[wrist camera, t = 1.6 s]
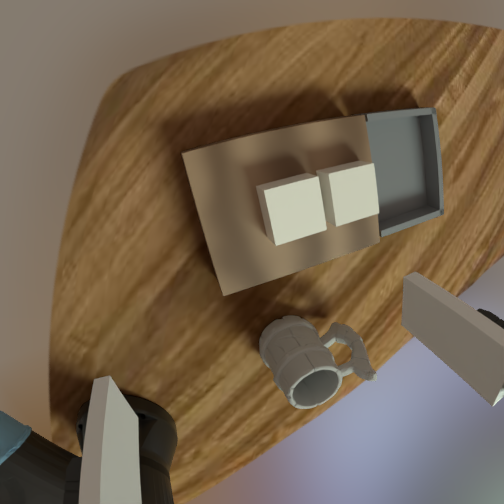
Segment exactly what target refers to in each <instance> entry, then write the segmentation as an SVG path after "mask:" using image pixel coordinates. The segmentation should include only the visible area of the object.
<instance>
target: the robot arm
mask: <svg viewBox="0 0 504 504" xmlns="http://www.w3.org/2000/svg"><path fill="white" fill-rule="evenodd" d="M401 325H402V326H403V327H404V328H406V329H407V330H408V331H409V332H410V333H411V334H413V335H414V336H415V337H416V338H417V339H418V340H419V341H421V342H422V343H423V344H424V345H425V346H426V347H428V348H429V349H430V350H431V351H432V352H433V353H434V354H435V355H437V356H438V357H439V358H440V359H441V360H442V361H443V362H444V363H445V364H447V365H448V366H449V367H450V368H451V369H452V370H453V371H454V372H455V373H457V374H458V375H459V376H460V377H461V378H462V379H463V380H464V381H465V382H466V383H468V384H469V385H470V386H471V387H472V388H473V389H474V390H475V391H476V392H477V393H478V394H480V395H481V396H482V397H483V398H484V399H485V400H486V401H487V402H488V403H489V404H490V405H491V406H494V405H495V404H496V403H497V402H498V401H499V400H500V399H501V398H502V397H503V396H504V321H503V320H502V319H499V318H498V317H497V316H496V315H494V314H493V313H491V312H489V311H486V310H483V309H478V310H475V309H474V308H472V307H471V306H469V305H468V304H466V303H465V302H463V301H462V300H460V299H458V298H457V297H455V296H454V295H452V294H451V293H449V292H448V291H446V290H445V289H443V288H441V287H440V286H438V285H437V284H435V283H434V282H432V281H430V280H429V279H427V278H426V277H424V276H422V275H421V274H419V273H417V272H414V273H411V274H409V275H407V276H405V277H404V282H403V308H402V324H401ZM76 432H77V436H78V440H79V445H80V449H81V452H82V457H78V456H76V455H74V454H72V453H70V452H68V451H67V450H65V449H63V448H61V447H59V446H57V445H56V444H54V443H52V442H50V441H49V440H47V439H45V438H44V437H42V436H40V435H39V434H37V433H35V432H34V431H32V428H31V427H29V426H28V425H23V424H22V423H20V422H18V421H17V420H15V419H14V418H12V417H10V416H9V415H7V414H5V413H4V412H2V411H0V504H174V502H173V496H172V489H171V483H170V475H169V470H170V467H171V463H172V460H173V456H174V453H175V450H176V446H177V430H176V425H175V422H174V420H173V418H172V417H171V416H170V415H169V414H168V413H167V412H166V411H165V410H164V409H162V408H161V407H160V406H158V405H156V404H154V403H152V402H150V401H147V400H145V399H142V398H138V397H134V396H128V395H122V393H121V392H120V390H119V389H118V387H117V386H116V384H115V383H114V381H113V379H112V378H111V376H106V377H101V378H97V379H94V382H93V388H92V393H91V399H90V400H89V401H88V402H86V403H85V404H84V405H83V406H82V407H81V408H80V410H79V413H78V417H77V423H76Z"/></svg>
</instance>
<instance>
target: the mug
mask: <svg viewBox="0 0 504 504" xmlns="http://www.w3.org/2000/svg"><path fill="white" fill-rule="evenodd" d="M282 318H283V319H276V320H275V321H273V322H272V323H270V324H269V325H268V326H267V327H266V328H265V329H264V331H263V332H262V336H260V340H259V346H260V356H261V358H262V360H263V362H264V363H265V365H266V366H268V367H269V368H270V369H271V371H272V372H273V374H274V378H273V380H274V382H275V383H276V385H277V386H278V388H279V389H280V390H282V391H283V392H284V394H285V396H286V397H287V399H288V401H289V402H290V404H291V405H293V406H294V407H296V408H300V409H308V408H313V407H315V406H317V405H321V404H323V403H324V402H326V401H327V400H329V399H330V398H331V397H333V396H334V394H335V393H336V392H337V391H338V388H340V386H341V383H342V377H343V376H346V375H348V374H350V373H352V372H355V374H356V375H357V376H358V377H360V378H362V379H365V380H368V381H376V380H377V374H376V372H375V371H374V370H373V369H372V367H371V365H370V361H369V358H368V355H367V351H366V349H365V345H364V343H363V340H362V338H361V337H360V336H359V335H358V334H357V333H356V332H355V331H353V329H352V328H351V327H349V326H347V325H345V324H342V325H341V324H339V323H337V322H334V323H332V325H331V327H330V329H329V331H328V332H327V333H326V334H325V335H323V336H322V337H321V338H319V335H318V332H317V330H316V329H315V327H314V326H313V325H312V324H311V323H310V322H308V321H306V320H305V319H303V318H302V319H301V318H300V317H299V316H294V315H290V316H284V317H282ZM336 341H337V343H343V344H347V345H348V346H349V347H350V349H351V350H352V356H351V360H350V361H349V362H347V363H345V364H342V365H340V366H337V365H336V363H335V362H334V357H333V355H332V353H331V352H330V351H329V349H328V347H330V346H331V345H332V344H333V343H334V342H336Z"/></svg>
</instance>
